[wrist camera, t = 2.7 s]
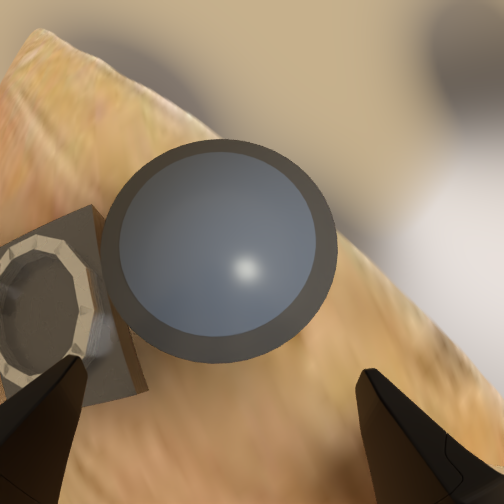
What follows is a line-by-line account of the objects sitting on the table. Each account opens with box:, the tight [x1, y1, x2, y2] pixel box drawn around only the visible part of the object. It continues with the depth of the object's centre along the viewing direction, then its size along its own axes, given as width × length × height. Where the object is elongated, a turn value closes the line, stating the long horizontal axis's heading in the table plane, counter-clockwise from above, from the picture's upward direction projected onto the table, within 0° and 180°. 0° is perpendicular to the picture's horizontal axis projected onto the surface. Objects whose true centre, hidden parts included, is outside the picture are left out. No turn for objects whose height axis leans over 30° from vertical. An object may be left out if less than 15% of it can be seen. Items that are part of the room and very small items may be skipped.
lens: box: [100, 139, 338, 364], centre depth 13 cm, size 6×6×13 cm
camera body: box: [0, 204, 149, 407], centre depth 17 cm, size 13×11×4 cm
